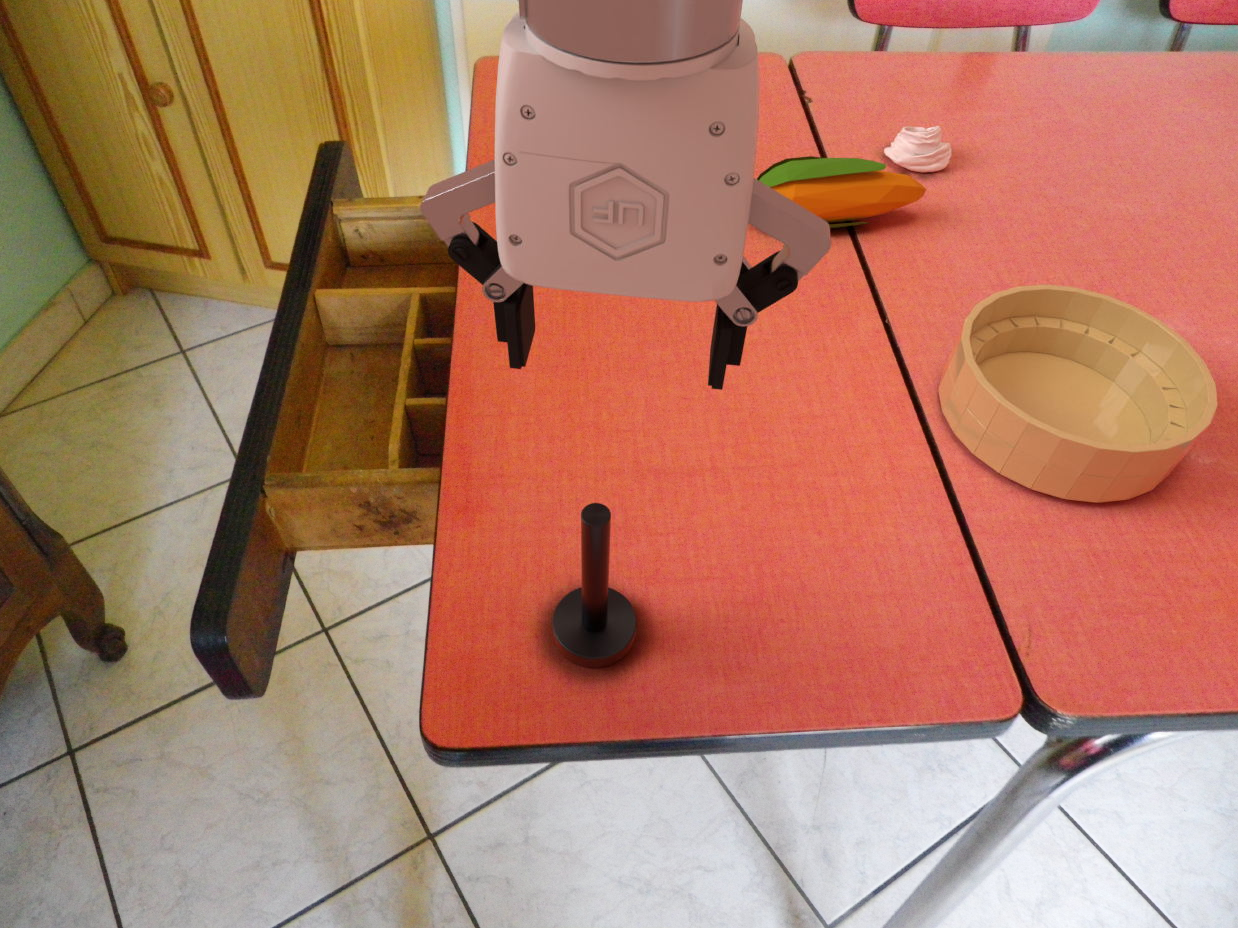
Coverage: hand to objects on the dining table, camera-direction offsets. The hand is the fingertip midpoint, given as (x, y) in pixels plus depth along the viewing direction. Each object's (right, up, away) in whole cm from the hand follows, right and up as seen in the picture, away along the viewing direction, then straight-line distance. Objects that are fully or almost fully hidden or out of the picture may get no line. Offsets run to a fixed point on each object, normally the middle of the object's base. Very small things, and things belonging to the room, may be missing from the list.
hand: (619, 359), depth 42 cm
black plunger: (-2, -17, +20) cm, 26 cm away
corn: (+24, +23, +55) cm, 64 cm away
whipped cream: (+36, +33, +64) cm, 80 cm away
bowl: (+39, -1, +35) cm, 53 cm away
